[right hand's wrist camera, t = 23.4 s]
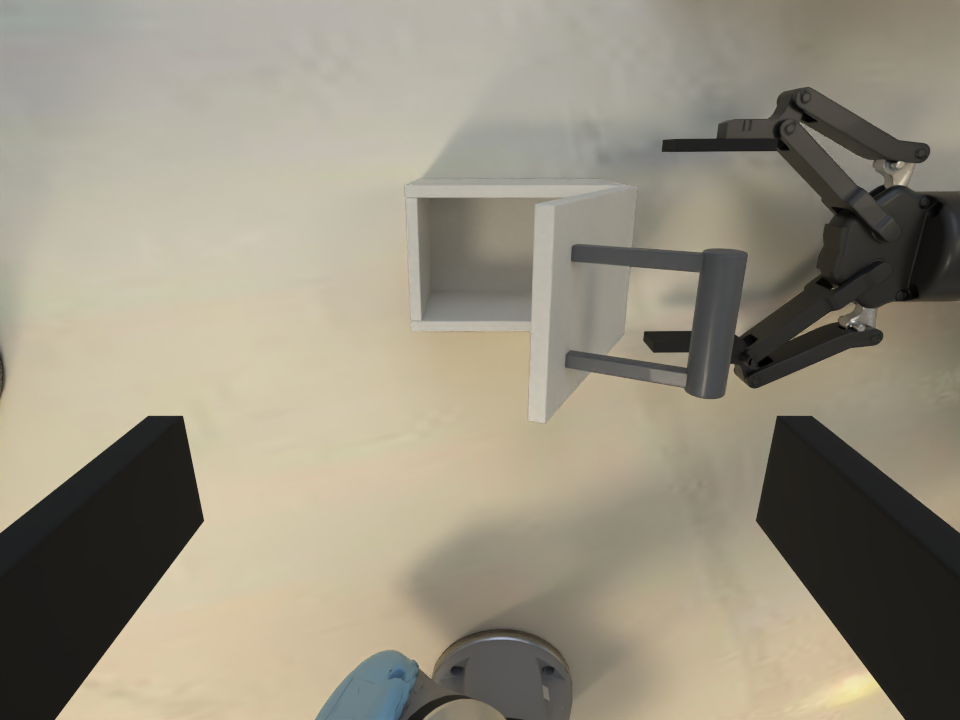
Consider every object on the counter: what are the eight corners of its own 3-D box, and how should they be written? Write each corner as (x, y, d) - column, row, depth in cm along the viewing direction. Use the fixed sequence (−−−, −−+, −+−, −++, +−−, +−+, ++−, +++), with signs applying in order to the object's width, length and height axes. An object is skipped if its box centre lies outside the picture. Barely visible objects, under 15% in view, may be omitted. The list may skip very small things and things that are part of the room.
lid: (526, 421, 26) (711, 461, 22) (533, 203, 22) (751, 212, 19) (611, 333, 38) (737, 350, 35) (623, 185, 35) (765, 188, 31)
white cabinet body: (424, 297, 47) (410, 331, 38) (420, 178, 44) (404, 185, 35) (590, 297, 47) (616, 331, 38) (598, 178, 44) (628, 185, 35)
